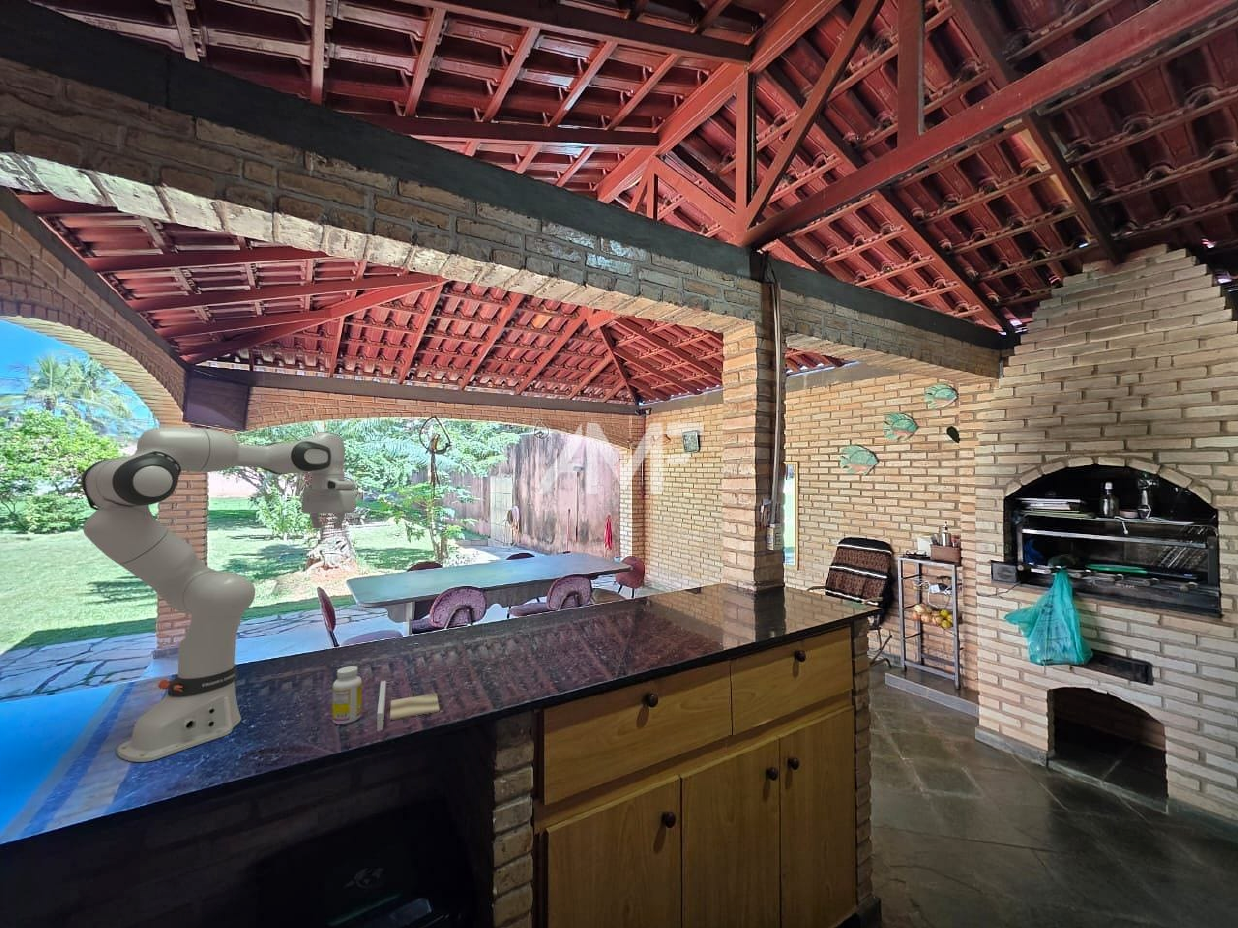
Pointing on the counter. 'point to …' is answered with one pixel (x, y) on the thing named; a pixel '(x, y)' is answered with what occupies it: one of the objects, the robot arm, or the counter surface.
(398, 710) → the light oak mat
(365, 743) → the counter surface
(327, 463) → the robot arm
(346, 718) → the supplement bottle
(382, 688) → the frosted acrylic wall
